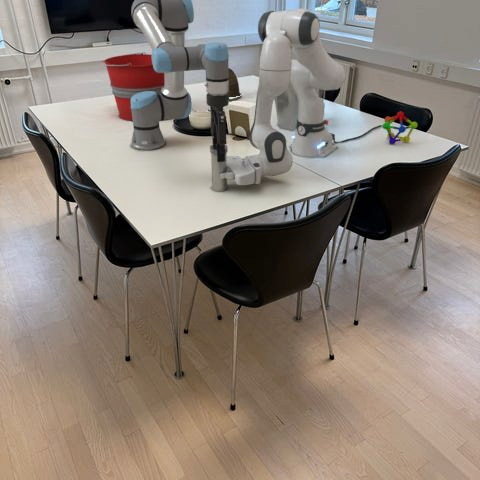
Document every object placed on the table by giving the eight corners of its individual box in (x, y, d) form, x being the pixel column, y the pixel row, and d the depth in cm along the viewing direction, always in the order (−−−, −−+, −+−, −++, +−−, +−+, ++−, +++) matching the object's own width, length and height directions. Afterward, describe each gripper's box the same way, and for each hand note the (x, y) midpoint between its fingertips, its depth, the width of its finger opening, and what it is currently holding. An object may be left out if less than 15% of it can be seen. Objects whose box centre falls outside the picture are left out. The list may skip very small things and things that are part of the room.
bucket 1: (119, 105, 264) (111, 51, 248) (177, 106, 263) (173, 52, 247) (101, 123, 234) (92, 63, 218) (167, 124, 233) (162, 63, 218)
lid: (229, 149, 162) (229, 144, 161) (224, 155, 156) (223, 150, 156) (213, 147, 163) (213, 142, 162) (207, 153, 158) (207, 148, 157)
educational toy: (377, 146, 209) (379, 114, 202) (384, 138, 219) (386, 107, 211) (411, 149, 202) (415, 116, 195) (417, 141, 212) (420, 109, 204)
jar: (220, 192, 164) (219, 152, 156) (209, 188, 167) (207, 149, 159) (229, 187, 168) (229, 148, 160) (218, 183, 171) (218, 144, 163)
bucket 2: (296, 138, 215) (301, 78, 201) (255, 124, 234) (256, 68, 219) (335, 125, 232) (342, 70, 217) (294, 113, 251) (297, 61, 236)
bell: (227, 105, 294) (202, 96, 282) (238, 66, 289) (213, 55, 277) (243, 108, 280) (217, 98, 268) (255, 66, 275) (229, 55, 263)
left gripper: (201, 87, 156) (203, 149, 168) (212, 101, 140) (214, 169, 152) (221, 86, 158) (222, 147, 170) (235, 99, 142) (235, 166, 154)
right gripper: (242, 150, 175) (208, 154, 170) (262, 169, 158) (225, 174, 154) (241, 165, 178) (208, 169, 174) (261, 185, 162) (225, 191, 157)
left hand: (218, 157), depth 161 cm, fingers closed on lid, 6 cm apart
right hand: (216, 172), depth 164 cm, fingers closed on jar, 5 cm apart
